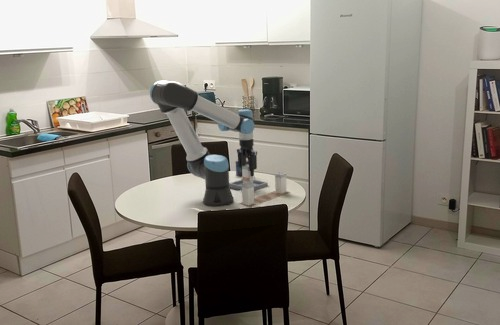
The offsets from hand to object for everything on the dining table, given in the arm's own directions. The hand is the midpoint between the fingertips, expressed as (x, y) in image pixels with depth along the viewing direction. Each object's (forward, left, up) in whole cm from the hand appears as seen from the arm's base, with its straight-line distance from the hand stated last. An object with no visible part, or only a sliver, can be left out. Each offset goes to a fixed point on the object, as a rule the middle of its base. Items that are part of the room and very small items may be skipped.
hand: (248, 180), depth 275 cm
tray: (0, 0, -4) cm, 4 cm away
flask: (+16, +20, -4) cm, 26 cm away
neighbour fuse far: (+2, -22, -3) cm, 22 cm away
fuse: (-22, -22, -3) cm, 31 cm away
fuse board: (-10, -22, -4) cm, 24 cm away
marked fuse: (0, 0, -2) cm, 2 cm away
